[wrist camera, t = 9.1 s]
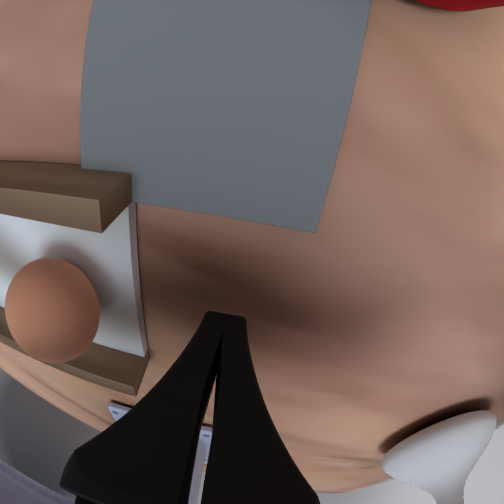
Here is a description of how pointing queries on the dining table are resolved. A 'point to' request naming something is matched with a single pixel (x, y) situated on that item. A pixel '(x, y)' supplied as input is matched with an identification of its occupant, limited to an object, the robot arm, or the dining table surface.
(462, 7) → the beverage can
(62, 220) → the lane
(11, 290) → the ball
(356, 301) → the dining table surface
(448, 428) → the flower in vase
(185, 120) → the mat
